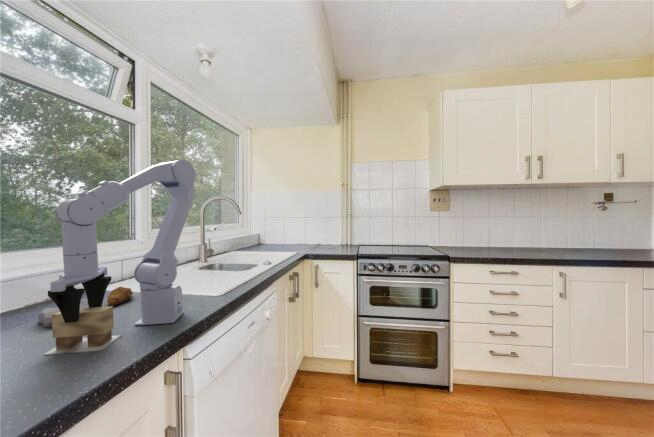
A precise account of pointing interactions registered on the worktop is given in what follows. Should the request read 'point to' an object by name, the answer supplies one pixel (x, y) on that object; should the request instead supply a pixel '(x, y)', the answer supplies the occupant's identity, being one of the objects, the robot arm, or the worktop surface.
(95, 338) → the base with blocks
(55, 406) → the worktop surface
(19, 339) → the worktop surface
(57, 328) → the lintel
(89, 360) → the worktop surface
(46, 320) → the stone block
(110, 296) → the croissant
